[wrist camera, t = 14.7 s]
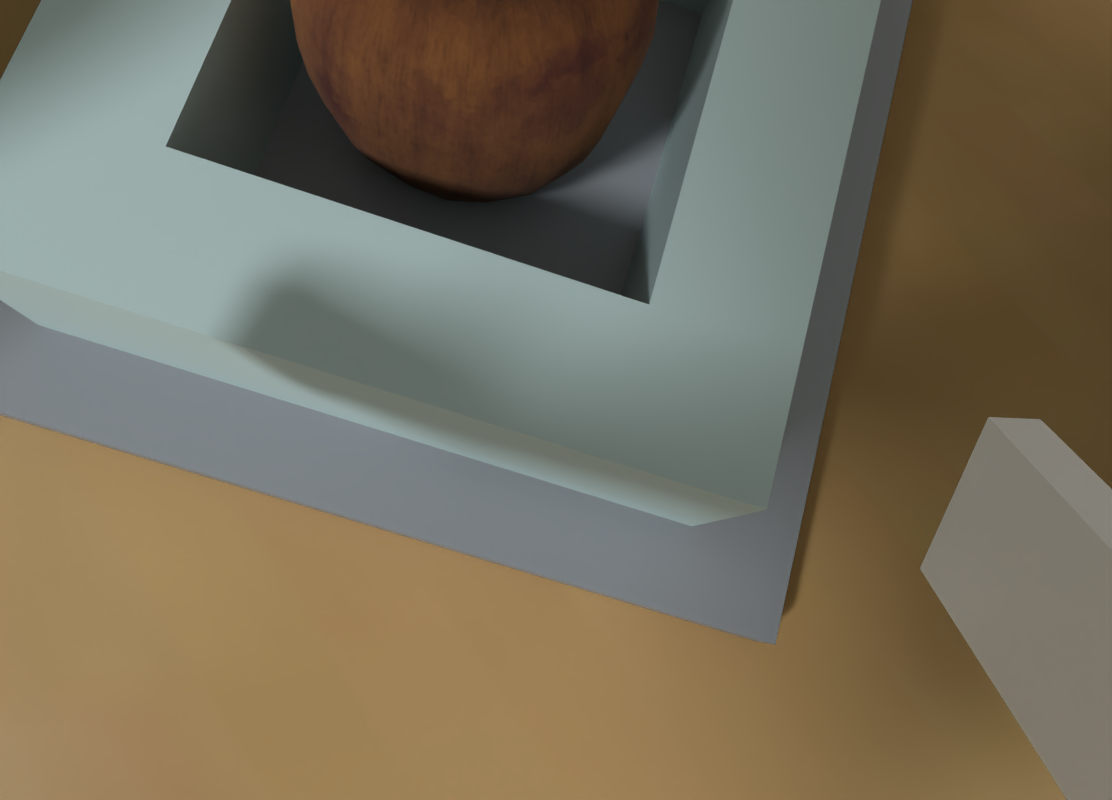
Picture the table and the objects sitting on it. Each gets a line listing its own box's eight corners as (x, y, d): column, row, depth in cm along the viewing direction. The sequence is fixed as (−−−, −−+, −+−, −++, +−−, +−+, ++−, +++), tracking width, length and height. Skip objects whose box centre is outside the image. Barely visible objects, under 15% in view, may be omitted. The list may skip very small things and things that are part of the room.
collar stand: (-88, 388, 19) (-303, 308, 13) (240, -279, 24) (182, -541, 18) (755, 641, 20) (876, 662, 15) (903, -36, 25) (1036, -211, 20)
